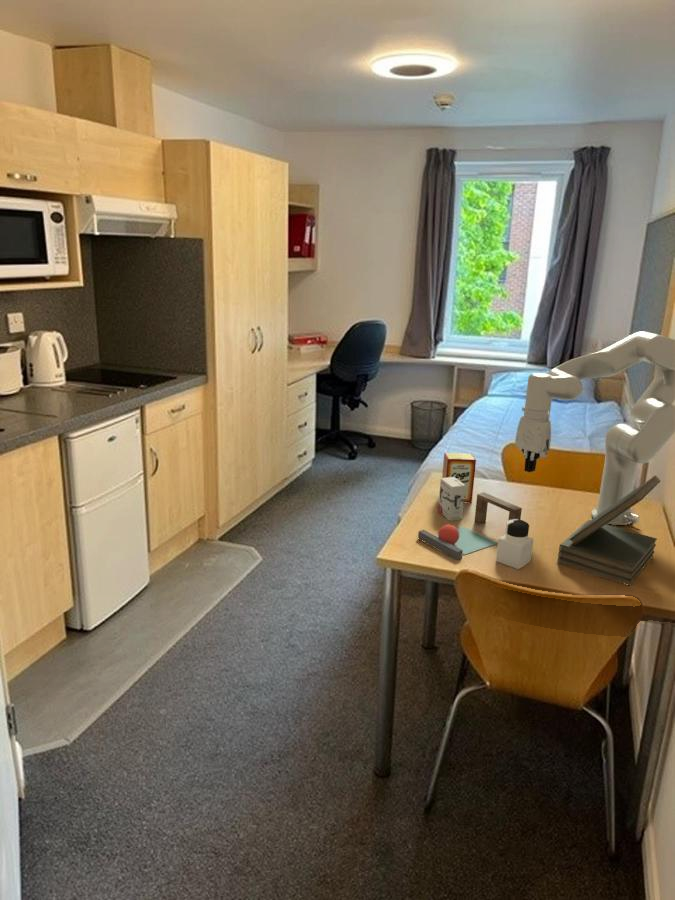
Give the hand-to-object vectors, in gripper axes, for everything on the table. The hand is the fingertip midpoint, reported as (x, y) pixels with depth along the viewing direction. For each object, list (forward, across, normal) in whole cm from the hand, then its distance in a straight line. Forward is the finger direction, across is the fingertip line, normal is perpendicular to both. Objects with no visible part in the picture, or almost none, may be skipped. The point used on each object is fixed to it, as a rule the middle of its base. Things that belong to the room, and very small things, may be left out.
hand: (529, 470), depth 203 cm
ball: (+14, 0, -33) cm, 36 cm away
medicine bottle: (+17, +17, -25) cm, 35 cm away
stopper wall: (+17, 0, -37) cm, 41 cm away
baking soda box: (+17, -25, -5) cm, 31 cm away
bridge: (+17, 0, -13) cm, 21 cm away
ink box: (+17, -16, -17) cm, 29 cm away
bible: (+18, +31, -2) cm, 35 cm away
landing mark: (+17, 0, -27) cm, 32 cm away
